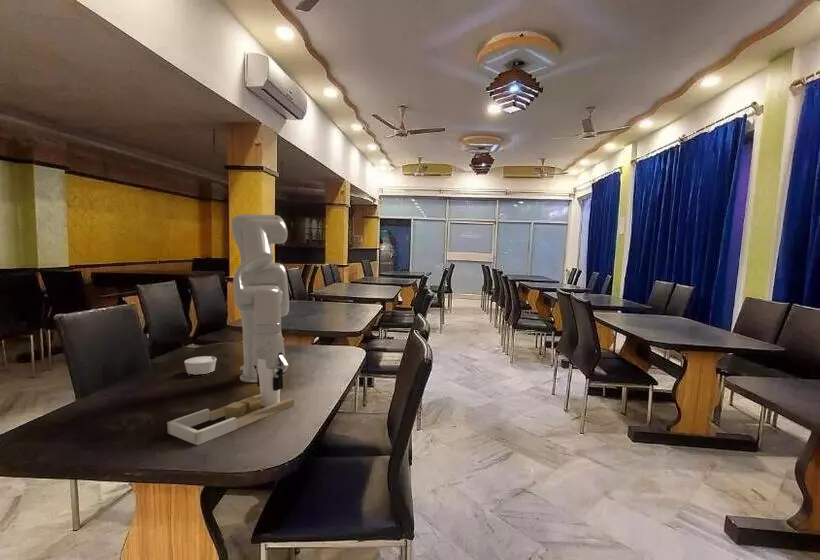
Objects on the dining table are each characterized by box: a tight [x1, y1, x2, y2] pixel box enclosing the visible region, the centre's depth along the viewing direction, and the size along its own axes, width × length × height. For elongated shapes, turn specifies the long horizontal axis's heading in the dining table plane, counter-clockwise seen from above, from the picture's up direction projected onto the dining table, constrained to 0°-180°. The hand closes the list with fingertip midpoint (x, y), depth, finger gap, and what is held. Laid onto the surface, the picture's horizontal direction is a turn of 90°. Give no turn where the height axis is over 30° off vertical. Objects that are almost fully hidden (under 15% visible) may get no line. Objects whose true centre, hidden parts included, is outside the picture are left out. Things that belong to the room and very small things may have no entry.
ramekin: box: [183, 355, 217, 375], centre depth 168 cm, size 11×11×5 cm
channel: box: [209, 393, 295, 429], centre depth 126 cm, size 13×20×2 cm, turn 147°
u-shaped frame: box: [166, 408, 238, 446], centre depth 113 cm, size 13×11×3 cm
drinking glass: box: [258, 358, 281, 408], centre depth 131 cm, size 7×7×15 cm
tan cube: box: [224, 401, 247, 421], centre depth 121 cm, size 4×4×4 cm
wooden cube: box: [240, 396, 262, 414], centre depth 126 cm, size 4×4×4 cm
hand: (270, 387), depth 131 cm, fingers closed on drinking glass, 6 cm apart
